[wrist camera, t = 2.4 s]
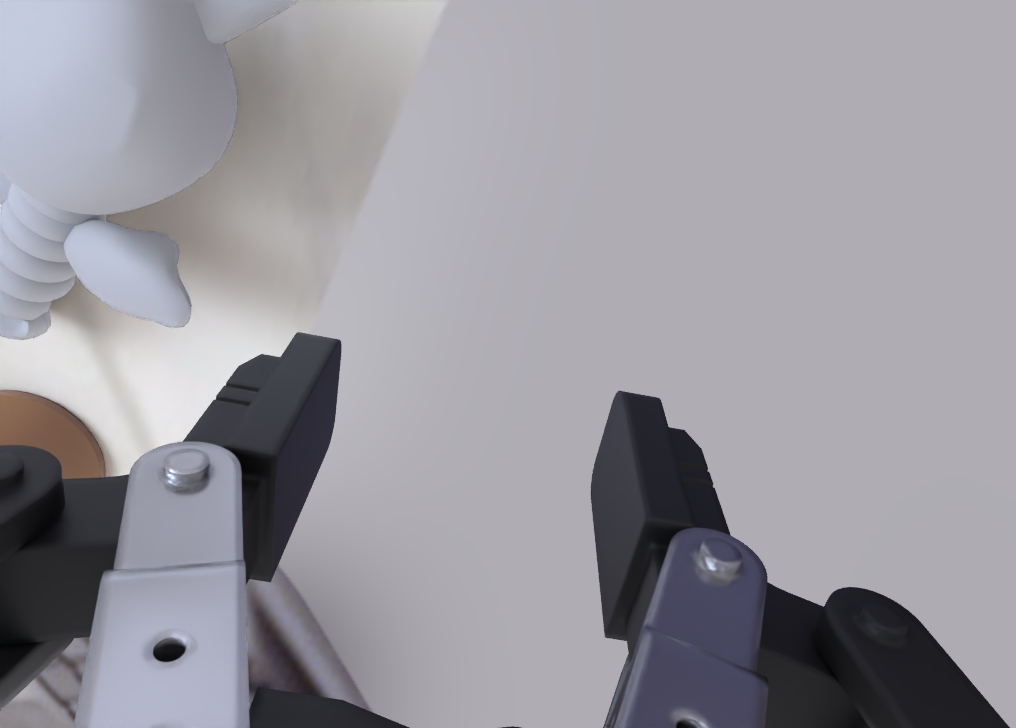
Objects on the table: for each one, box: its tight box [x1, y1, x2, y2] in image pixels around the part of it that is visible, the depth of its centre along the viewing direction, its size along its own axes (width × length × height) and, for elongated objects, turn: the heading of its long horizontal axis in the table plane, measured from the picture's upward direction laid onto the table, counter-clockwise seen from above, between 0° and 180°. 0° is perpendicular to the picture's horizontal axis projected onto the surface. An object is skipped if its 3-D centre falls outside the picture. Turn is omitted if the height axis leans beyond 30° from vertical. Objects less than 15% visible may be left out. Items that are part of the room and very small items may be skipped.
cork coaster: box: [0, 390, 105, 479], centre depth 36 cm, size 7×7×1 cm
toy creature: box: [0, 0, 298, 340], centre depth 25 cm, size 13×7×20 cm
